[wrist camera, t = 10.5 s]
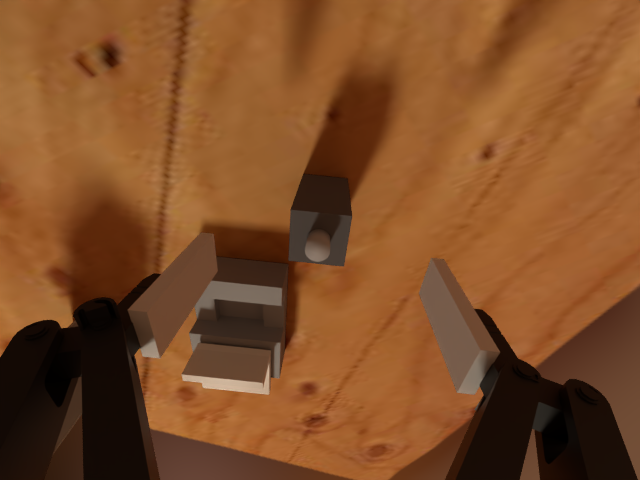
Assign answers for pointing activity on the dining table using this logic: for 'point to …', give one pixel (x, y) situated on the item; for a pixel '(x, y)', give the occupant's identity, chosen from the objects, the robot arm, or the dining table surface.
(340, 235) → the plug
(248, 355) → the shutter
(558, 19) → the dining table surface
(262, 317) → the socket
